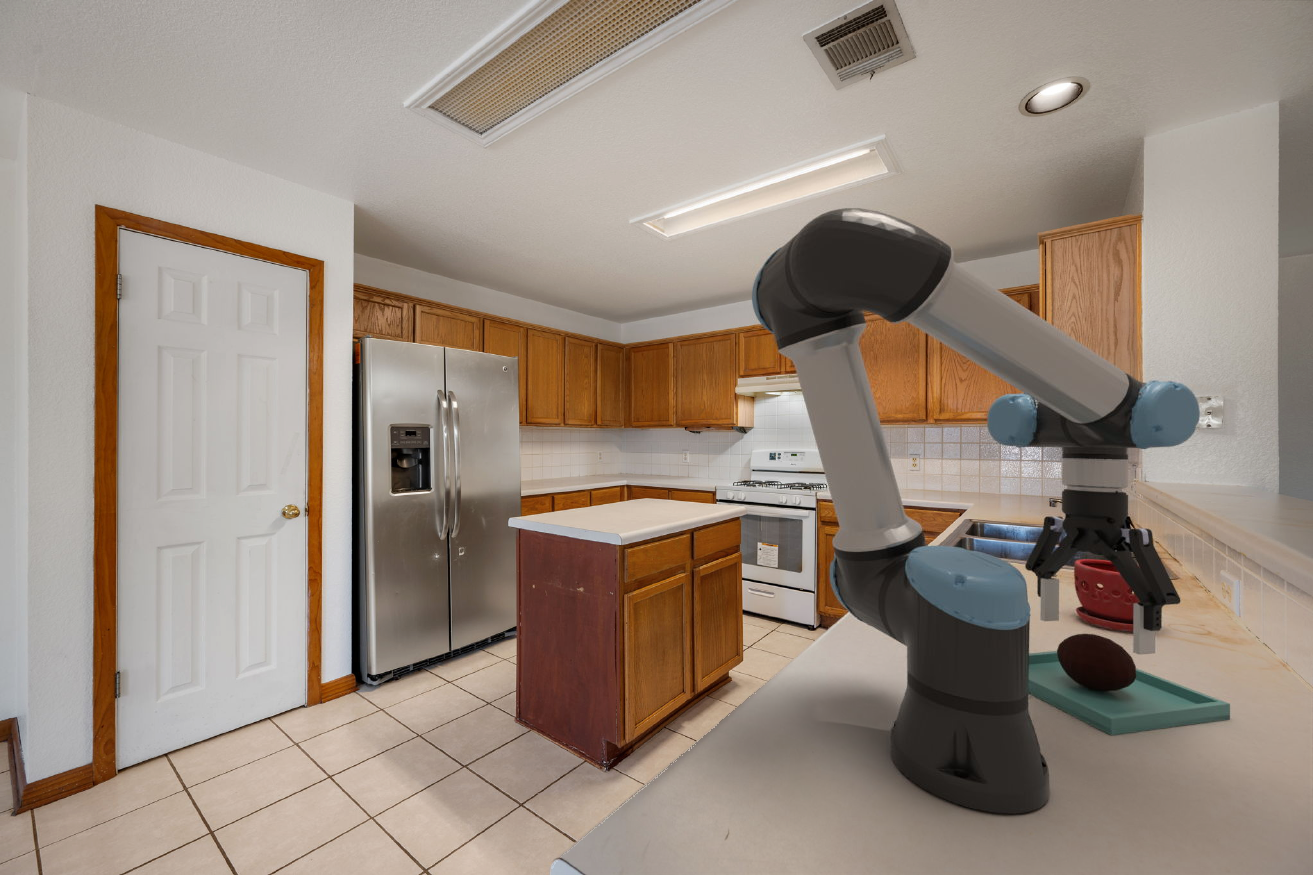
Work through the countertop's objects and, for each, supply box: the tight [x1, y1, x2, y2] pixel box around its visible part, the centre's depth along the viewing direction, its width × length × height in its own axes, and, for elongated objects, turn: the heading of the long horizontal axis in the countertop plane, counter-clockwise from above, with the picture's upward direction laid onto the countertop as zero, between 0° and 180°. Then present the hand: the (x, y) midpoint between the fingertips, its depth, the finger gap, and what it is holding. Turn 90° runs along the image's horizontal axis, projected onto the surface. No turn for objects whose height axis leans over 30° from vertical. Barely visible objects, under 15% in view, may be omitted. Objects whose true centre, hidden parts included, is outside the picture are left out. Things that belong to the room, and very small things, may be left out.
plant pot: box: [1073, 558, 1140, 633], centre depth 108 cm, size 13×13×12 cm
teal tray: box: [1028, 650, 1231, 736], centre depth 78 cm, size 20×20×2 cm
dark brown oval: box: [1056, 633, 1137, 691], centre depth 78 cm, size 8×9×8 cm
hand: (1092, 635), depth 78 cm, fingers open, 13 cm apart
